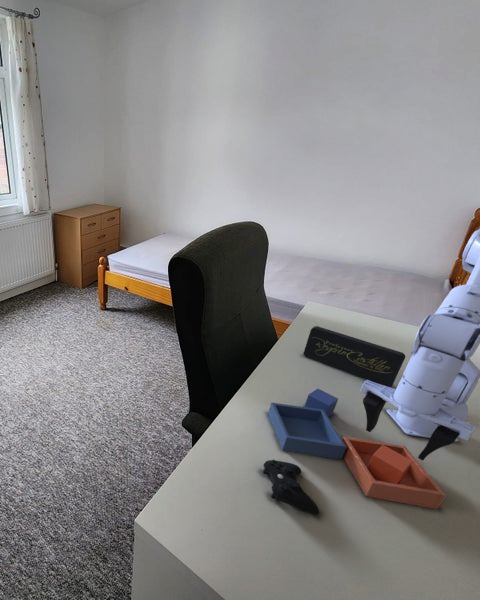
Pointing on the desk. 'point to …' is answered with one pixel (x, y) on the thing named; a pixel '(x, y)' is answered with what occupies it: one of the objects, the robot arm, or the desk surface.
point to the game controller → (288, 486)
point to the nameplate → (354, 356)
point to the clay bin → (410, 489)
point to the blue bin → (306, 431)
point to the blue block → (321, 401)
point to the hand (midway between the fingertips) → (394, 442)
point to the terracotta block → (388, 465)
